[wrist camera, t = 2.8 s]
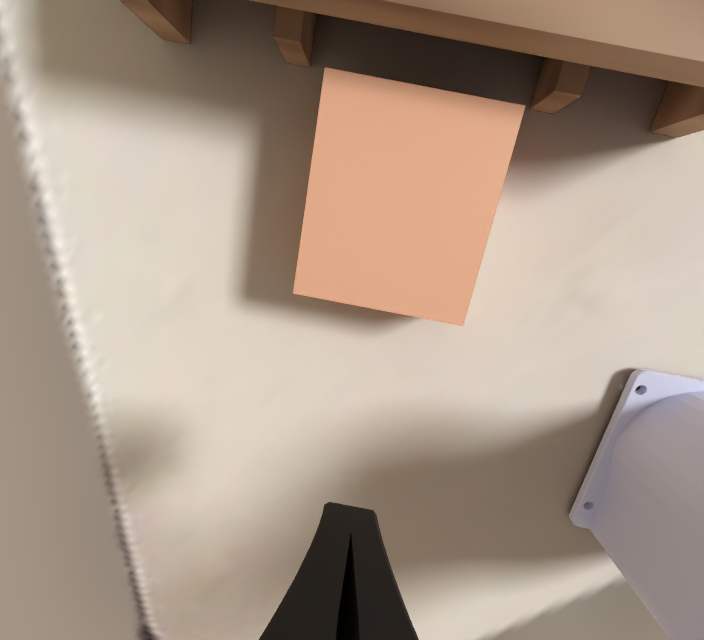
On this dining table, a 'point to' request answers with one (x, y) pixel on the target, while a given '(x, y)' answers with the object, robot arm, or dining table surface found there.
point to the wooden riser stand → (517, 39)
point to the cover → (402, 195)
